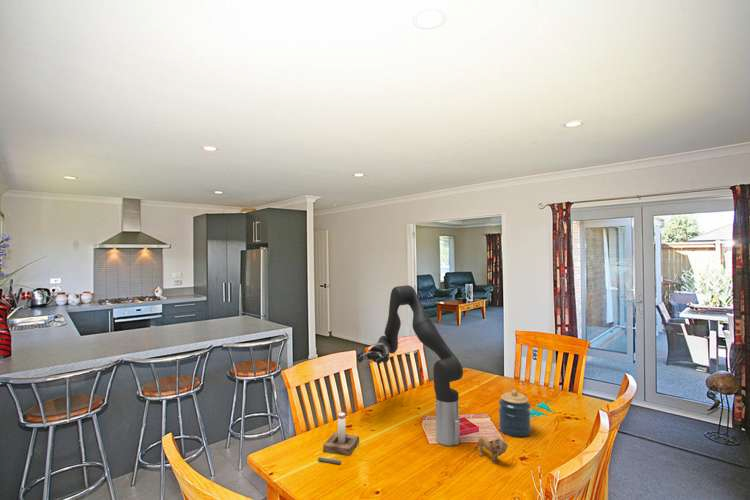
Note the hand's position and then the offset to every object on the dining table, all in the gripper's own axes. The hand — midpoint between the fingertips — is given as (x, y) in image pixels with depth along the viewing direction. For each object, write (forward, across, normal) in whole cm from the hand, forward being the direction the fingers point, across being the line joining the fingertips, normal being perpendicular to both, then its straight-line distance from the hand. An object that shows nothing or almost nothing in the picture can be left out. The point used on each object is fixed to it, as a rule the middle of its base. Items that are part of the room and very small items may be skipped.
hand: (368, 361), depth 168 cm
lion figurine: (+9, +51, +30) cm, 60 cm away
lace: (+29, -6, +30) cm, 42 cm away
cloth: (-44, +75, +31) cm, 92 cm away
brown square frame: (+17, -6, +30) cm, 35 cm away
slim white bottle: (+17, -6, +30) cm, 35 cm away
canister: (-17, +61, +30) cm, 70 cm away
